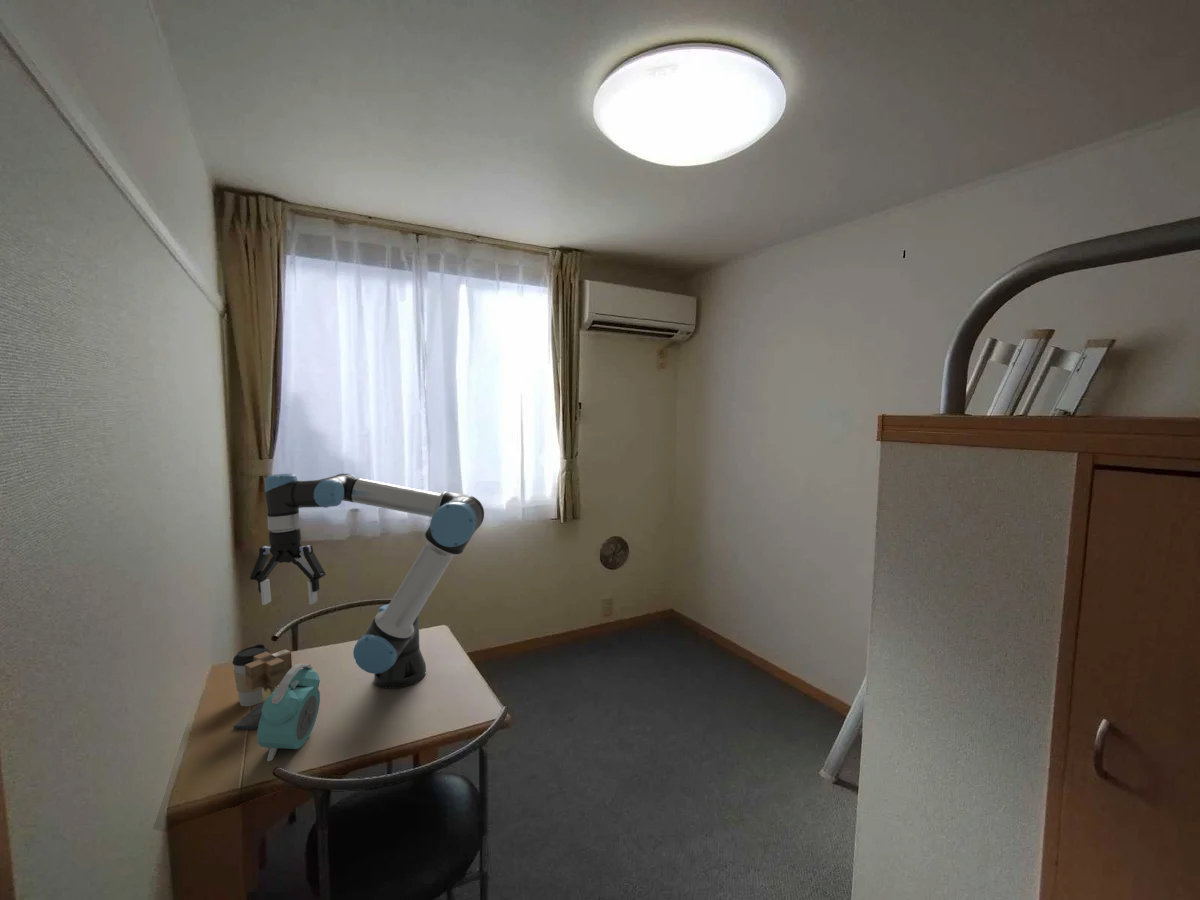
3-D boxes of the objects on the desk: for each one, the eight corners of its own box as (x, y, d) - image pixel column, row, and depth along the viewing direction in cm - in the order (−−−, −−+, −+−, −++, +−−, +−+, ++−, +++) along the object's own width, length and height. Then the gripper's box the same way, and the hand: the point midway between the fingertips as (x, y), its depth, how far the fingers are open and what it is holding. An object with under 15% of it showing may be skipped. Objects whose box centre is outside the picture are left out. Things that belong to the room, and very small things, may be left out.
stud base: (306, 703, 142) (305, 672, 141) (278, 729, 130) (277, 696, 129) (264, 702, 142) (263, 672, 142) (233, 729, 130) (231, 696, 130)
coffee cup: (253, 710, 139) (250, 658, 138) (226, 706, 140) (223, 655, 139) (280, 692, 147) (277, 643, 146) (254, 689, 149) (252, 641, 148)
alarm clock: (290, 723, 133) (287, 651, 131) (327, 722, 133) (324, 650, 132) (250, 770, 115) (245, 687, 114) (293, 767, 116) (289, 685, 115)
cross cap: (258, 697, 129) (256, 670, 128) (240, 686, 134) (239, 660, 133) (298, 680, 137) (297, 654, 137) (280, 670, 142) (279, 645, 142)
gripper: (335, 525, 142) (340, 597, 144) (251, 526, 143) (256, 598, 145) (319, 531, 135) (325, 607, 136) (230, 533, 136) (237, 608, 137)
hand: (290, 603), depth 140 cm, fingers open, 13 cm apart
